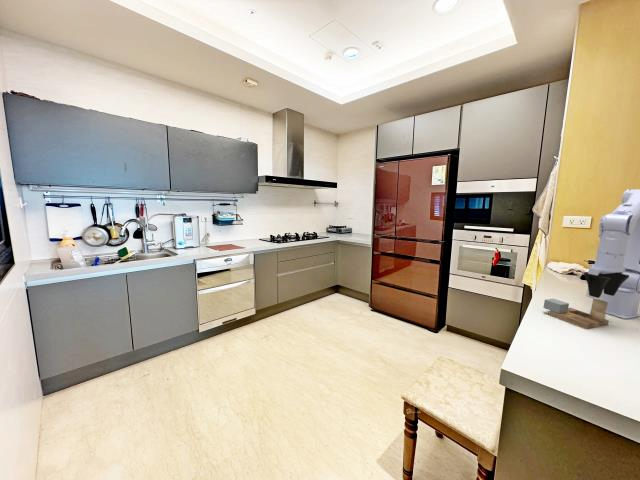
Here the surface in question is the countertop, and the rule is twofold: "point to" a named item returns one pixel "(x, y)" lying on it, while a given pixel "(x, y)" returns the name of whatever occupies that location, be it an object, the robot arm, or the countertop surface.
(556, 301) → the grey block
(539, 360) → the countertop surface
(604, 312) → the peg
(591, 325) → the board
